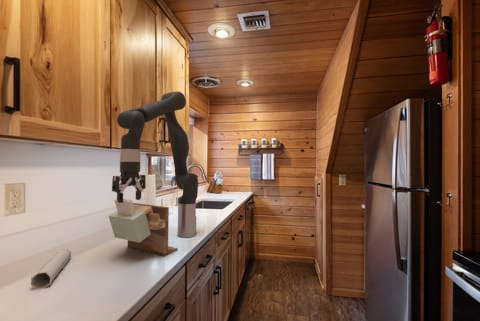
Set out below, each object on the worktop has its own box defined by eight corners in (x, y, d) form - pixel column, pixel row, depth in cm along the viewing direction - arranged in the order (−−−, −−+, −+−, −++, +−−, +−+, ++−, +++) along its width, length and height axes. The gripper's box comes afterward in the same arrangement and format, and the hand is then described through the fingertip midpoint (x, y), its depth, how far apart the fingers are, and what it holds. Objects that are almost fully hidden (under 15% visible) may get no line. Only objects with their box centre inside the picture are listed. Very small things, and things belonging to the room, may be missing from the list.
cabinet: (134, 224, 111) (125, 191, 107) (158, 228, 105) (150, 193, 101) (114, 237, 102) (104, 202, 98) (139, 242, 96) (129, 205, 92)
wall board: (141, 242, 120) (142, 201, 120) (177, 250, 110) (178, 205, 110) (118, 250, 108) (119, 204, 109) (156, 260, 99) (157, 209, 99)
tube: (55, 250, 98) (27, 277, 75) (70, 244, 100) (47, 268, 76) (60, 262, 99) (33, 293, 75) (75, 256, 100) (54, 284, 77)
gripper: (138, 160, 108) (137, 198, 108) (107, 160, 95) (107, 202, 95) (150, 161, 105) (149, 199, 105) (121, 160, 92) (120, 204, 92)
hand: (129, 201), depth 100 cm, fingers open, 8 cm apart
